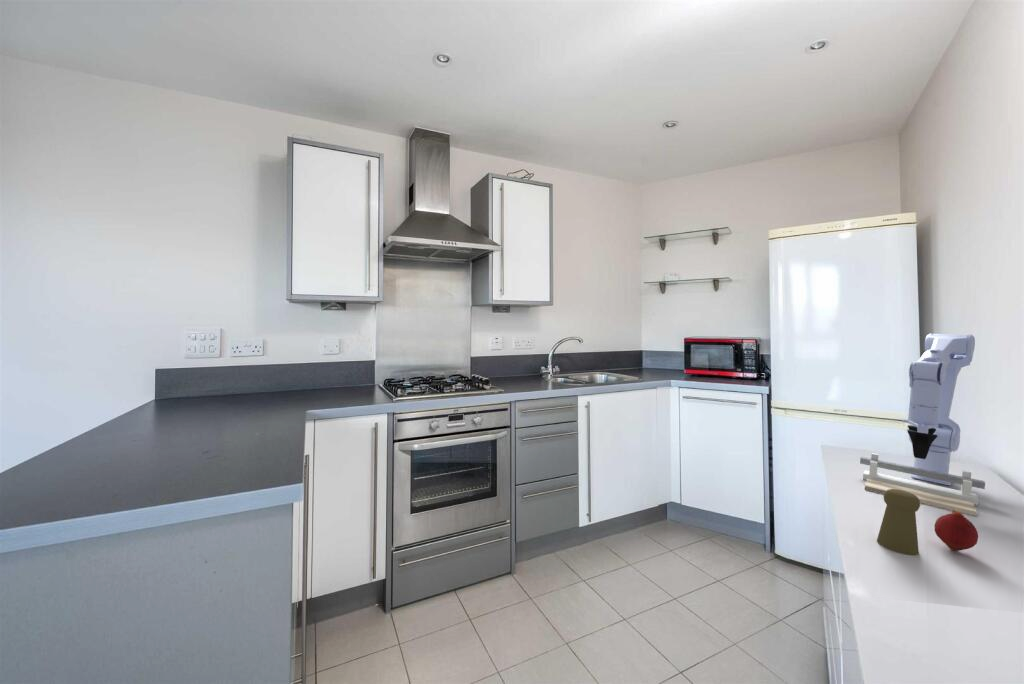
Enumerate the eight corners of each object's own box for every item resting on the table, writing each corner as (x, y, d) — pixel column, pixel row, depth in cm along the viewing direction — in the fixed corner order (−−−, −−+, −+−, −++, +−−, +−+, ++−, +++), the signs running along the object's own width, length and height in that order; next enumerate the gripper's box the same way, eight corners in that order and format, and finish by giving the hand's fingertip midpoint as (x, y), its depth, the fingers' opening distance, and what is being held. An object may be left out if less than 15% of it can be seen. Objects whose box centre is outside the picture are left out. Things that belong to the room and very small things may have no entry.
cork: (901, 540, 84) (906, 486, 83) (928, 556, 78) (933, 499, 77) (868, 537, 85) (873, 484, 84) (893, 553, 79) (898, 496, 78)
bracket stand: (864, 475, 122) (866, 451, 122) (975, 499, 107) (978, 473, 107) (862, 479, 119) (864, 455, 118) (977, 505, 104) (980, 477, 103)
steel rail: (860, 462, 122) (861, 456, 122) (983, 487, 105) (984, 481, 105) (859, 463, 120) (860, 458, 120) (984, 489, 104) (985, 482, 104)
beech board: (866, 482, 117) (867, 478, 117) (972, 506, 103) (972, 502, 103) (864, 489, 111) (864, 485, 111) (976, 516, 97) (976, 511, 97)
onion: (966, 547, 82) (970, 507, 82) (983, 562, 77) (988, 520, 77) (927, 539, 85) (930, 501, 84) (941, 553, 79) (945, 512, 79)
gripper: (904, 400, 120) (899, 446, 121) (903, 406, 109) (898, 456, 110) (938, 404, 115) (934, 452, 116) (941, 411, 105) (936, 464, 105)
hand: (919, 455), depth 113 cm, fingers open, 7 cm apart
